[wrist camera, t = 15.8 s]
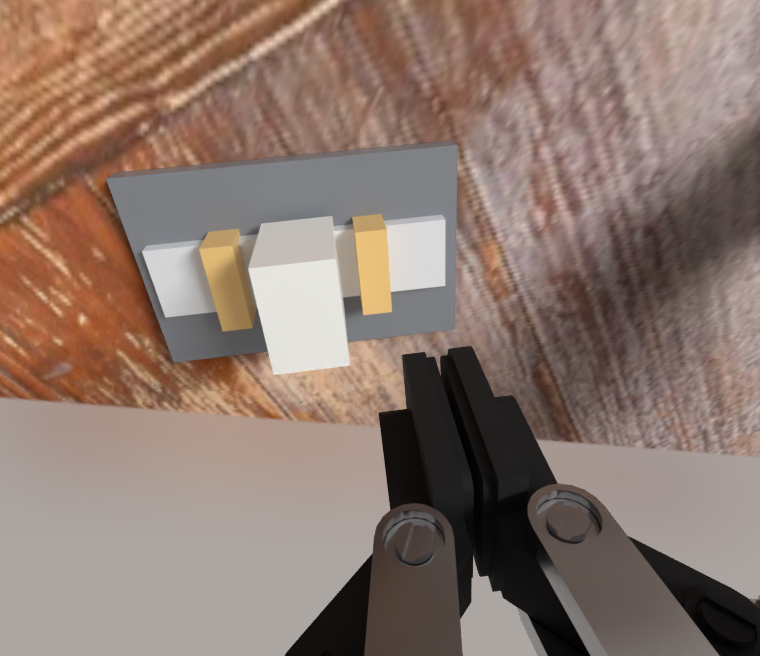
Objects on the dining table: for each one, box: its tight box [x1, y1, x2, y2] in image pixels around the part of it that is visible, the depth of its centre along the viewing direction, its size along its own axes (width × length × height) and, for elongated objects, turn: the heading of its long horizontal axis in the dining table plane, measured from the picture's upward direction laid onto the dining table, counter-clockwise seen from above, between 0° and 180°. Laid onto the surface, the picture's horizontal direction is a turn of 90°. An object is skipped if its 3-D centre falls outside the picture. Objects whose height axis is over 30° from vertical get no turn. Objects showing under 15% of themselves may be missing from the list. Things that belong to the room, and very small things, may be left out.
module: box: [248, 216, 350, 375], centre depth 30 cm, size 5×7×7 cm, turn 4°
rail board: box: [106, 141, 458, 363], centre depth 33 cm, size 22×14×4 cm, turn 94°
